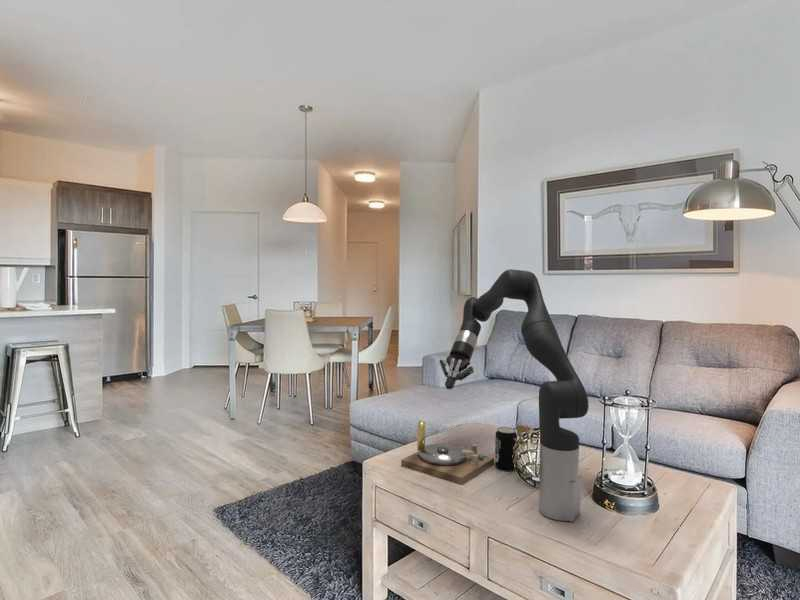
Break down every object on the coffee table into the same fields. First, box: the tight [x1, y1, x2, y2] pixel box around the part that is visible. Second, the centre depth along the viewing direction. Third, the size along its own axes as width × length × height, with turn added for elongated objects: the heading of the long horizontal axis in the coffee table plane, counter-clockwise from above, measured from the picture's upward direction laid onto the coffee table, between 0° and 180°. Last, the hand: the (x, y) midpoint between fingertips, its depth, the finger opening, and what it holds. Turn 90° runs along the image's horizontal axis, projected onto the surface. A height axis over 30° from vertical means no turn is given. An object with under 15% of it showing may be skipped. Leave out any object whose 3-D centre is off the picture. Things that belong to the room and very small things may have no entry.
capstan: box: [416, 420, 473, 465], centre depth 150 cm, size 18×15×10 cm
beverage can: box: [494, 426, 518, 472], centre depth 148 cm, size 7×7×12 cm
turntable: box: [400, 442, 495, 486], centre depth 149 cm, size 22×20×5 cm
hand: (448, 388), depth 160 cm, fingers closed
